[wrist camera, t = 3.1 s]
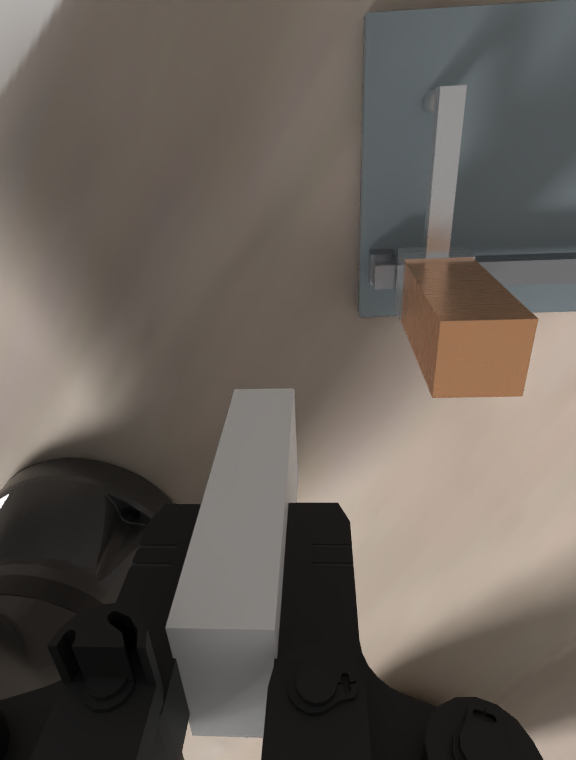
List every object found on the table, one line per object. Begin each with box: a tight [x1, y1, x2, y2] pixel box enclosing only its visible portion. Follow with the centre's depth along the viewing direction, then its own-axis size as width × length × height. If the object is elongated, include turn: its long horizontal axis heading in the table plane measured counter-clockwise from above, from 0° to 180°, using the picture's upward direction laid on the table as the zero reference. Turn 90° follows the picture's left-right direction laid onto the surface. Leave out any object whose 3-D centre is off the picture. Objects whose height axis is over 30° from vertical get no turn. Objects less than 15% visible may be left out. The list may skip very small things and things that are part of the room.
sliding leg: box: [395, 85, 538, 398], centre depth 20 cm, size 3×10×11 cm, turn 3°
